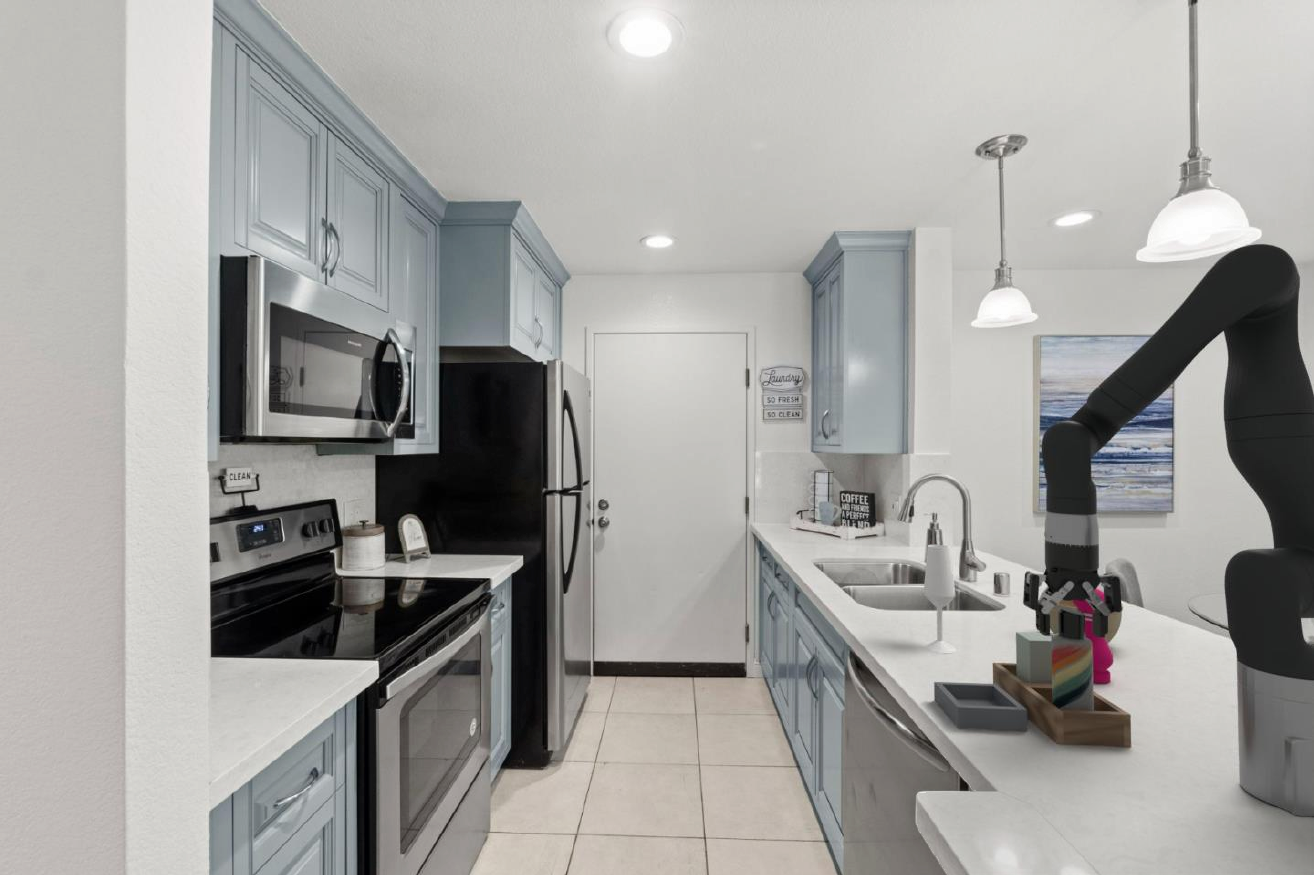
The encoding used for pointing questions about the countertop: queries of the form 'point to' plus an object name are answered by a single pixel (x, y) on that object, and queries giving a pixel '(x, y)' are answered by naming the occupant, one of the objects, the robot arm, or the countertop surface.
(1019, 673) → the grey-green block
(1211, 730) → the countertop surface
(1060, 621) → the lotion bottle
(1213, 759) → the countertop surface
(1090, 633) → the pepper mill
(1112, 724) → the frame
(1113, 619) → the planter bowl
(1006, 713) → the tray
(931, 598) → the champagne flute
